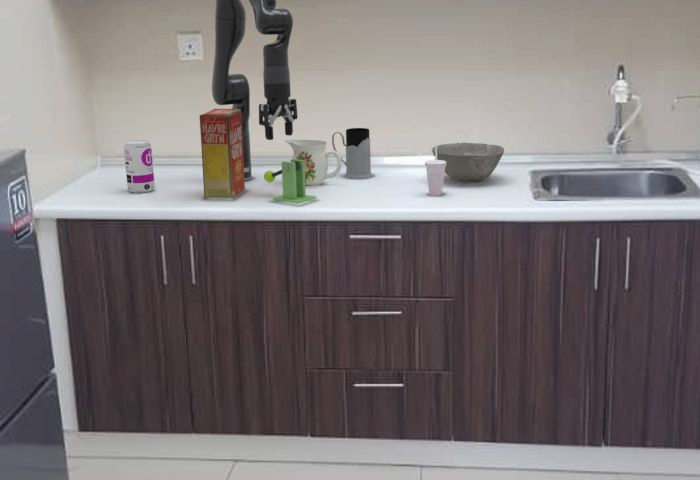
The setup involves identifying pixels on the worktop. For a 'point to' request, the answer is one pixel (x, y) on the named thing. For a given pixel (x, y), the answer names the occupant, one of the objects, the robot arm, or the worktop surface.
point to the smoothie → (435, 175)
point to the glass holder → (356, 153)
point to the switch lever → (276, 173)
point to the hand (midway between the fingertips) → (279, 137)
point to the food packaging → (222, 153)
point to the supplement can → (139, 166)
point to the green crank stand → (293, 183)
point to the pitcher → (314, 159)
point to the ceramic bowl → (469, 160)
